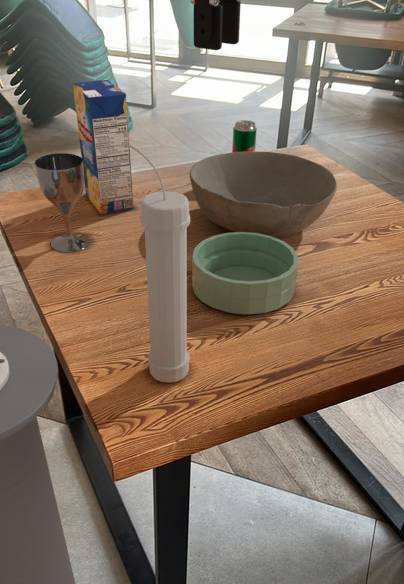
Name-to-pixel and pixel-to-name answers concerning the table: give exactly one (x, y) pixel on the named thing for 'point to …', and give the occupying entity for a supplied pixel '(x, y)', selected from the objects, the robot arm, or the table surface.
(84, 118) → the cereal box
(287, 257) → the green round dish
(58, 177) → the wine glass
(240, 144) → the soda can
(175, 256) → the pipe
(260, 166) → the bowl
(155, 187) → the table surface
